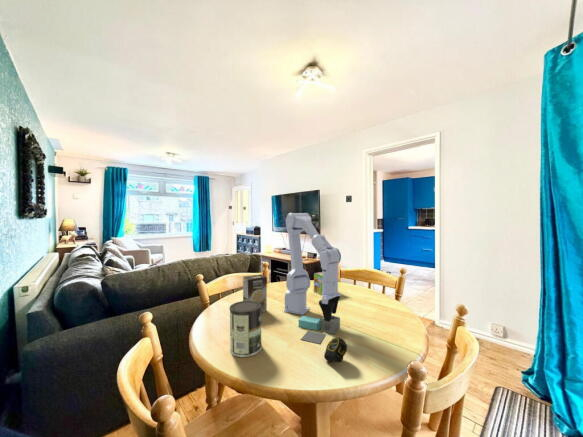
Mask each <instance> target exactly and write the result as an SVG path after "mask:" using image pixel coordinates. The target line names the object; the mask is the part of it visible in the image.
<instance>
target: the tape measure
mask: <svg viewBox="0 0 583 437" xmlns="http://www.w3.org/2000/svg"><path fill="white" fill-rule="evenodd" d="M347 345H348V344H347V343H346V341H345V340H344V339H343V338H341V337H339V336H338V337H337V336H334V337H333V338H331V340H330V341H329V342H328V343H327V345H326V348H325V351H324V355H323V356H324V357H323V358H324V359H325V361H328V362H337V363H342V362H343V361H344V356H345V355H346V353H347V349H348V346H347Z"/></svg>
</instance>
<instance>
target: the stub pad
mask: <svg viewBox="0 0 583 437" xmlns="http://www.w3.org/2000/svg"><path fill="white" fill-rule="evenodd" d="M326 336H327V334H326V333H322V332H321V333H320V332H318V331H317V332H316V331H313V330H307V331H306V332H305V334H304V335H303V336H302V337H301V338H300V340H301V341H304V342H308V343H312V344H317V345H321V343H322V342H323V340H324V339H325V338H326Z"/></svg>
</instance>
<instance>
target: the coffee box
mask: <svg viewBox="0 0 583 437" xmlns="http://www.w3.org/2000/svg"><path fill="white" fill-rule="evenodd" d="M242 279H243V282H242V297H243V298H242V301H256V302H259V303H261V313H264V312H267V305H268V304H267V303H268V300H267V298H268V297H267V296H268V295H267V294H268V293H267V290H268V287H267V285H268V284H267V282H268V280H267V279H268V277H267V276H266V275H263V274H254V275H253V274H252V275H245V276H242Z"/></svg>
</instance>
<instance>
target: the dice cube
mask: <svg viewBox="0 0 583 437" xmlns="http://www.w3.org/2000/svg"><path fill="white" fill-rule="evenodd" d="M320 319H321V327H320V329H321V332H325V333H327V334H330V335H335V334H336V333H338V332H339V331H340V330H341V318H340V317H338V316H335V315H333V314H332V316H331V321H330V322H329V321H325V320H324V316H322V317H321V318H320Z"/></svg>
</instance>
